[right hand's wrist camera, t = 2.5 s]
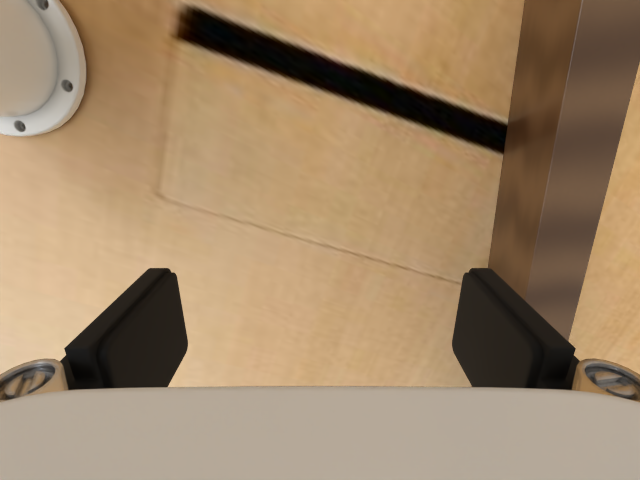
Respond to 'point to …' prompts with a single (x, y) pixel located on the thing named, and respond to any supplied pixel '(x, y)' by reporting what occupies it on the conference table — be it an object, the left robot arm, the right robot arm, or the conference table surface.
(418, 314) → the conference table surface
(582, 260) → the bar
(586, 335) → the conference table surface
